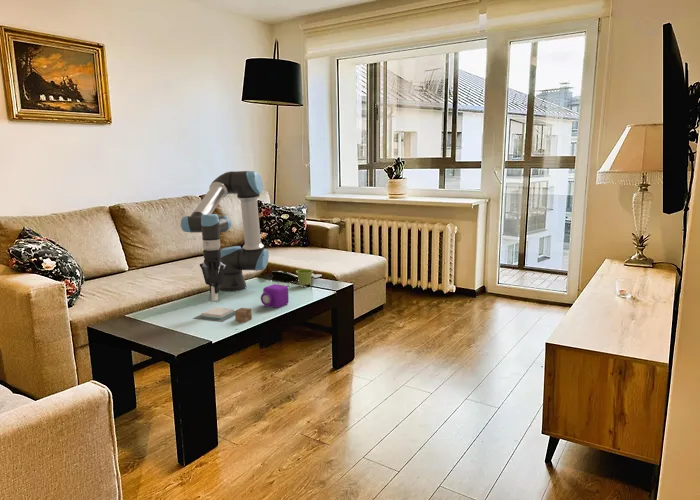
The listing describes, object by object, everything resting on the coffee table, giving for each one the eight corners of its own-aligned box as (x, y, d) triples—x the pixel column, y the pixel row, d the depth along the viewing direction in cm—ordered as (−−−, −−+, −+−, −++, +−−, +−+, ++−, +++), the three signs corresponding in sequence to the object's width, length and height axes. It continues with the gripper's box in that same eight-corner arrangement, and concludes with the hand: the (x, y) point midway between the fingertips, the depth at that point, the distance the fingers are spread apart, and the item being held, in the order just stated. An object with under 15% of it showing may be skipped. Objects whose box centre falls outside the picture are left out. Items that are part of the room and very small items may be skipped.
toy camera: (257, 309, 234) (256, 288, 232) (271, 301, 247) (270, 282, 245) (277, 310, 230) (276, 290, 229) (290, 303, 243) (290, 283, 241)
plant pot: (312, 288, 272) (311, 272, 270) (295, 288, 272) (294, 273, 270) (313, 284, 281) (313, 269, 280) (297, 284, 281) (296, 269, 280)
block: (242, 318, 220) (241, 307, 220) (251, 319, 219) (251, 308, 218) (235, 321, 216) (235, 310, 215) (245, 322, 214) (244, 311, 213)
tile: (215, 306, 230) (233, 308, 227) (215, 311, 230) (233, 312, 227) (201, 313, 221) (220, 315, 217) (202, 317, 221) (220, 319, 218)
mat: (213, 309, 234) (213, 308, 234) (242, 312, 229) (242, 311, 229) (192, 319, 220) (192, 318, 220) (222, 322, 214) (222, 322, 214)
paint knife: (299, 288, 275) (299, 283, 274) (278, 286, 280) (278, 281, 280) (324, 276, 301) (324, 272, 301) (304, 275, 307) (304, 271, 307)
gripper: (194, 249, 218) (198, 301, 222) (218, 250, 213) (222, 303, 217) (204, 246, 225) (208, 296, 229) (229, 248, 220) (232, 299, 224)
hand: (215, 299), depth 223 cm, fingers closed
